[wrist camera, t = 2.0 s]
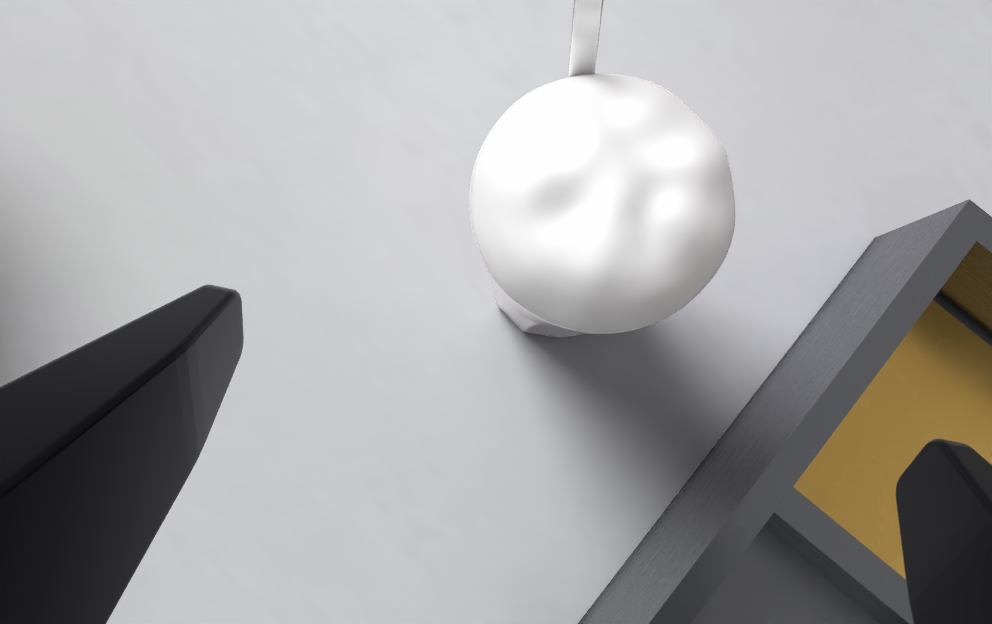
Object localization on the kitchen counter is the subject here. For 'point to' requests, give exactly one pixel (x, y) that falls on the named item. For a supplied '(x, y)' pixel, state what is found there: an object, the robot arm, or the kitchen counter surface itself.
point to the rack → (830, 448)
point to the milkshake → (599, 200)
